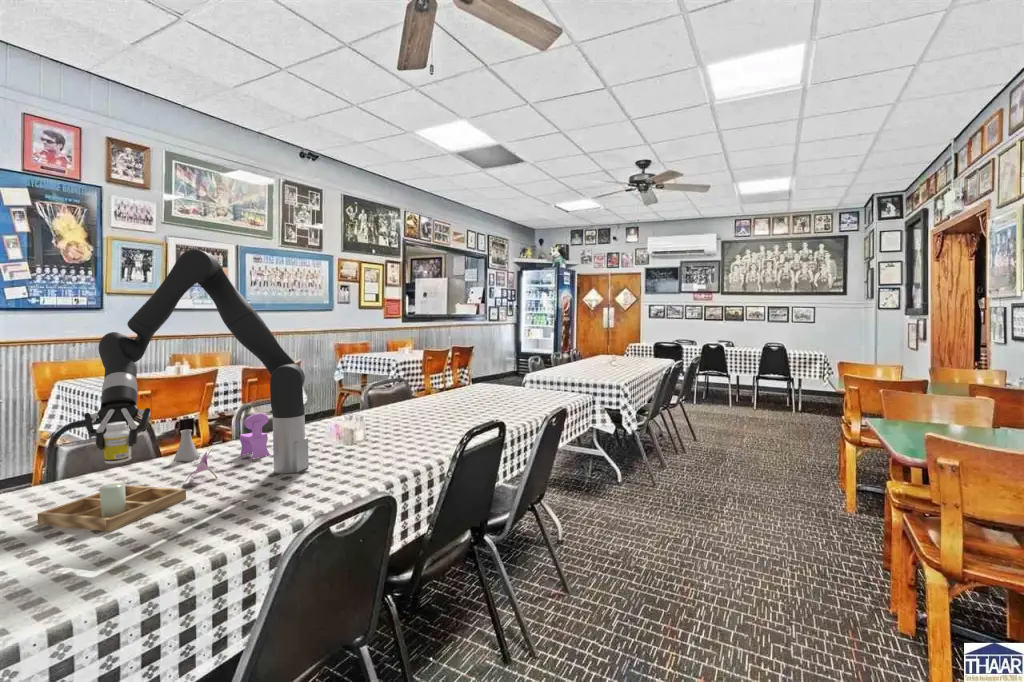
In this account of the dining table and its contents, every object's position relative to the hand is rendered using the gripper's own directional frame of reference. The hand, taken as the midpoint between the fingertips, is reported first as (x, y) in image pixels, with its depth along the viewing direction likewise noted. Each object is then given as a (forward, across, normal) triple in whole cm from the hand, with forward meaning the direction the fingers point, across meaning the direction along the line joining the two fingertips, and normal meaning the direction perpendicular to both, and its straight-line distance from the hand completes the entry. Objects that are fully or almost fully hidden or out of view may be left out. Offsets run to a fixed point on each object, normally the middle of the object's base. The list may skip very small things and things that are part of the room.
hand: (116, 446), depth 125 cm
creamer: (+19, 0, +2) cm, 19 cm away
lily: (+2, +18, +21) cm, 28 cm away
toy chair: (-13, +35, +36) cm, 52 cm away
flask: (-18, +15, +41) cm, 48 cm away
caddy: (+15, 0, +7) cm, 17 cm away
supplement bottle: (+2, 0, +4) cm, 5 cm away
